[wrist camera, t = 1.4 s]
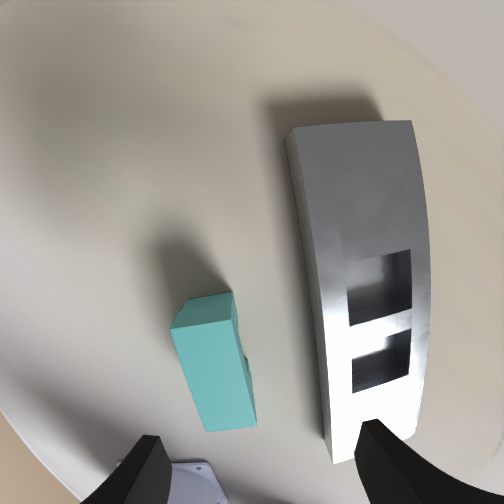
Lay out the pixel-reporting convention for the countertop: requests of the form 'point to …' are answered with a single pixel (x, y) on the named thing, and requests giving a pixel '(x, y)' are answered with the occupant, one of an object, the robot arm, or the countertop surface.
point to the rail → (364, 272)
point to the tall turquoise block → (215, 362)
